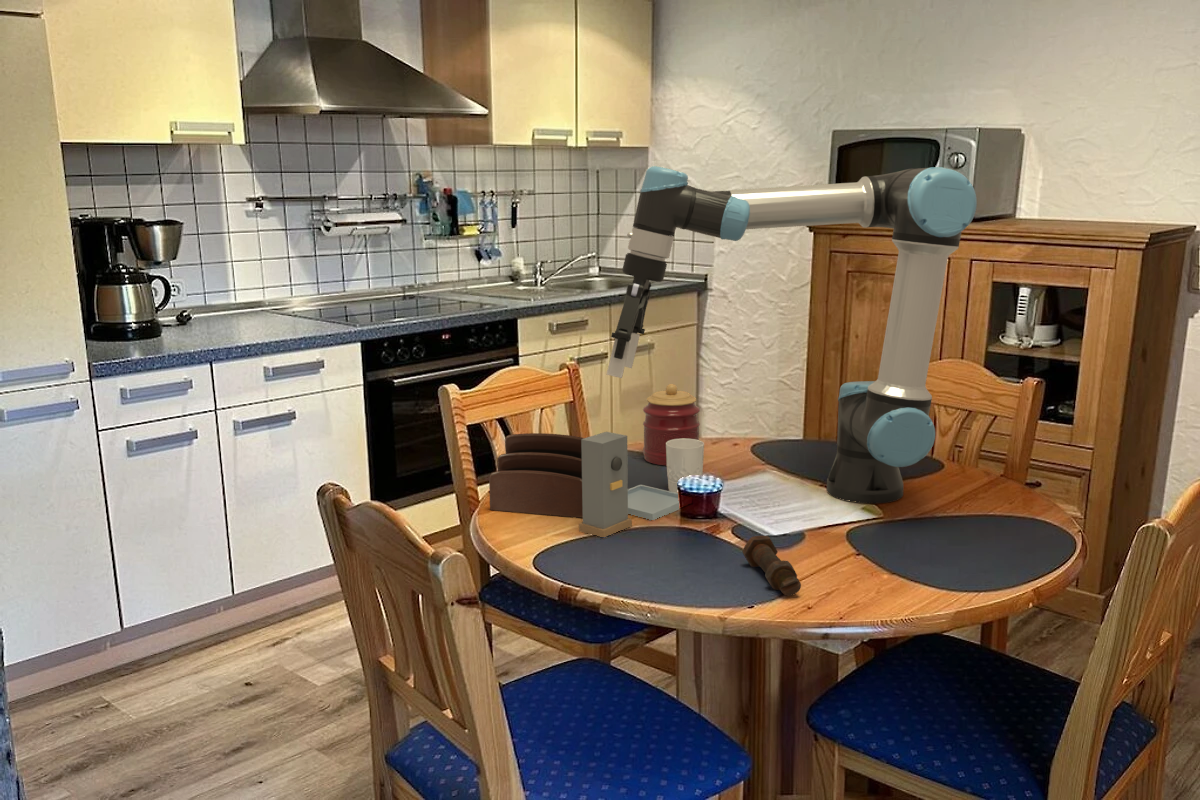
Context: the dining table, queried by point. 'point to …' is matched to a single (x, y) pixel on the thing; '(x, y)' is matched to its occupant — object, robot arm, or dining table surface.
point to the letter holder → (539, 475)
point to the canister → (668, 422)
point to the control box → (604, 484)
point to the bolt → (771, 565)
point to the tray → (651, 502)
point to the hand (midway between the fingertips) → (619, 371)
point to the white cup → (683, 460)
